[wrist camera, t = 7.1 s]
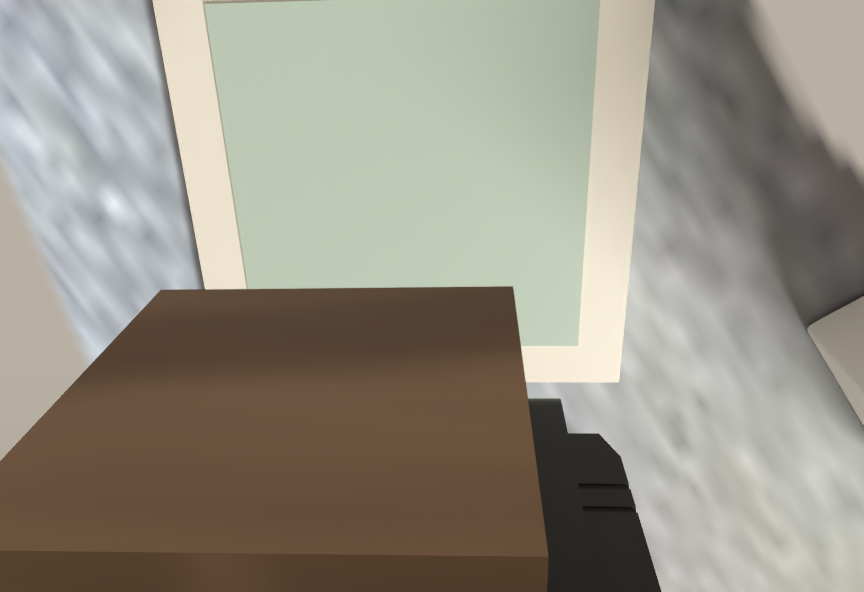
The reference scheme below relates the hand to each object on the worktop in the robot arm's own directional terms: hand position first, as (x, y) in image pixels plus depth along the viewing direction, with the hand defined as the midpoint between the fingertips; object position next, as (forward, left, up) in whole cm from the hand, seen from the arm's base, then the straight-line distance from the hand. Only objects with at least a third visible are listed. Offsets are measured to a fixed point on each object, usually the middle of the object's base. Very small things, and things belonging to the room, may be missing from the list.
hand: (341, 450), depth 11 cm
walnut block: (0, 0, 0) cm, 0 cm away
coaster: (0, 0, -13) cm, 13 cm away
